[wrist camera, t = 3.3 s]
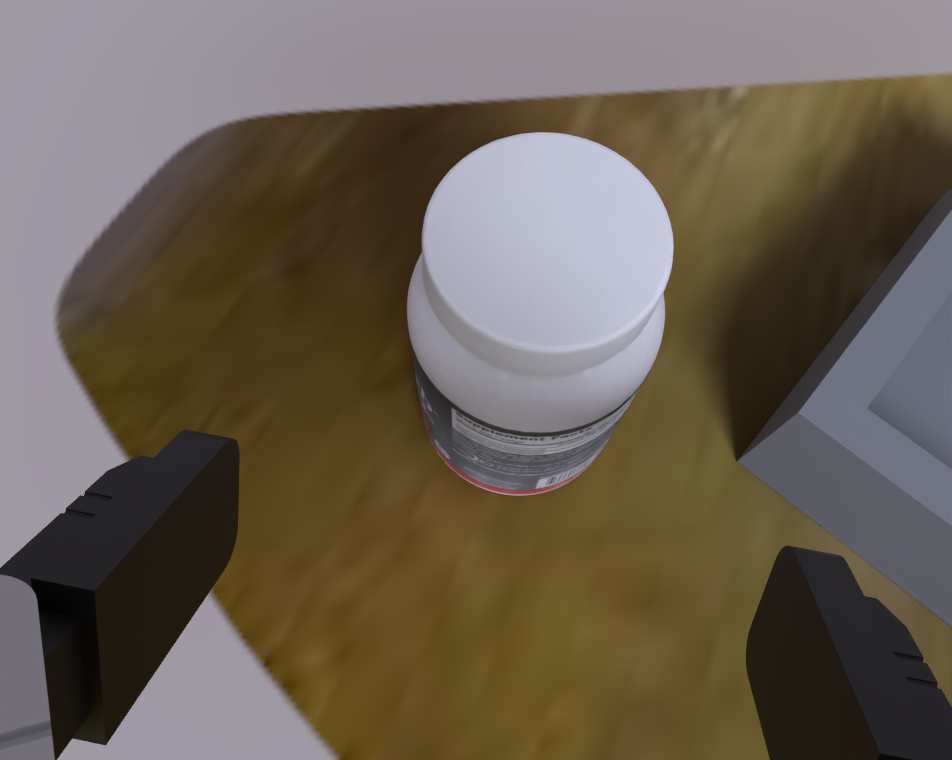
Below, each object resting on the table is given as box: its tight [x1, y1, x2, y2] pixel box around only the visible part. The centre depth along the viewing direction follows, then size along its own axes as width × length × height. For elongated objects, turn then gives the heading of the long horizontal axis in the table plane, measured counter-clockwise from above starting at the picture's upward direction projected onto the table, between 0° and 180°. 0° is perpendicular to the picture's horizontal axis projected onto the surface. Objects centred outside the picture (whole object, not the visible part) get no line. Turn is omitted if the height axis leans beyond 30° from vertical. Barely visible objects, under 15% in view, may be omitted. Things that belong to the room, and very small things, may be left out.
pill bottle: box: [407, 132, 674, 495], centre depth 19 cm, size 6×6×10 cm
